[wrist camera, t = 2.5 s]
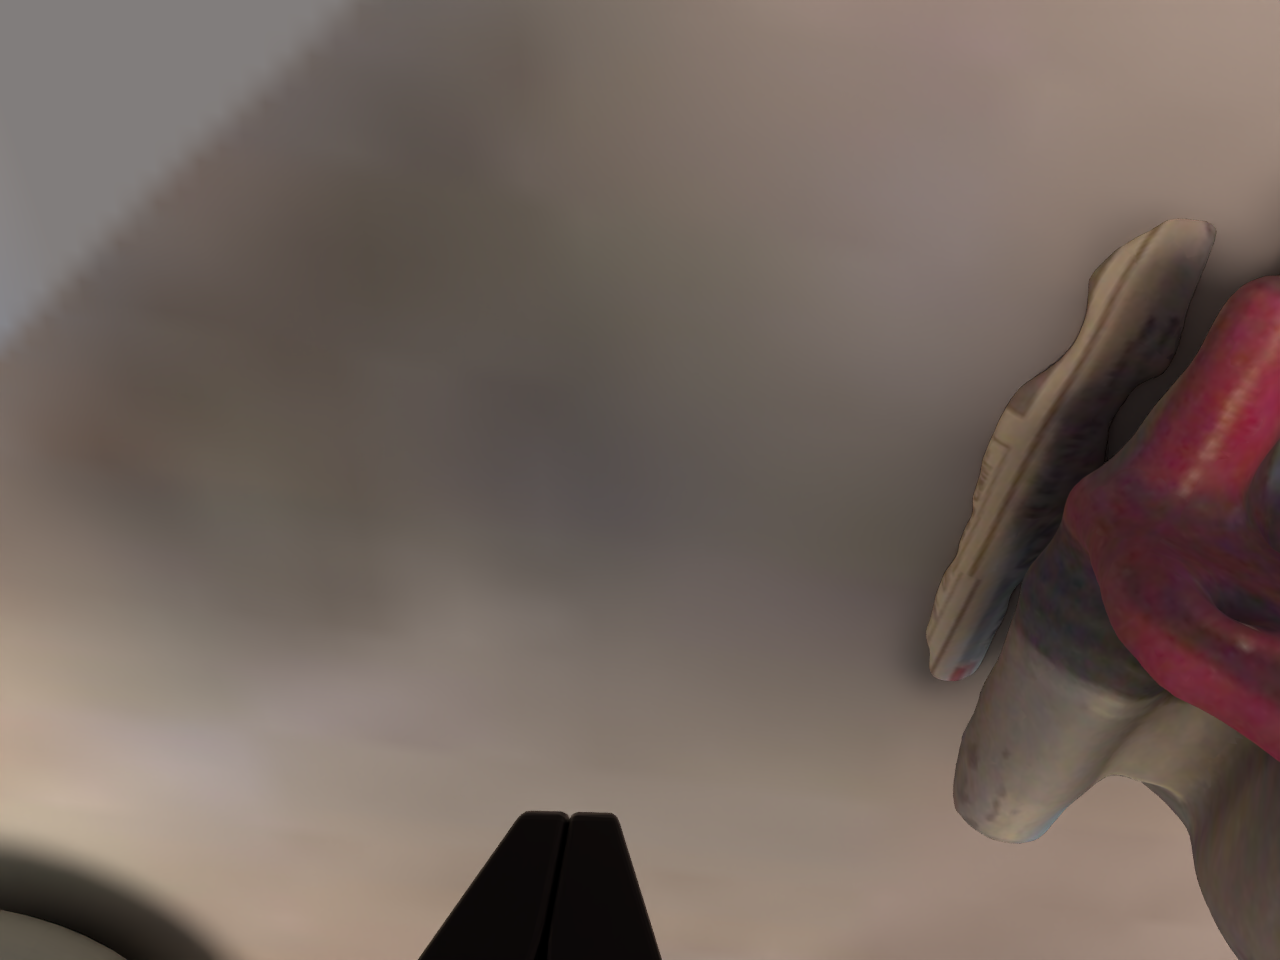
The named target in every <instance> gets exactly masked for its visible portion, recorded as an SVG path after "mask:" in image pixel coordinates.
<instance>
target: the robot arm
mask: <svg viewBox="0 0 1280 960" xmlns="http://www.w3.org/2000/svg"><path fill="white" fill-rule="evenodd" d="M418 960H662V958H661V955H660V952H659V949H658V945H657V942H656V939H655V936H654V932H653V929H652V926H651V923H650V920H649V916H648V913H647V910H646V907H645V903H644V900H643V897H642V894H641V890H640V887H639V884H638V881H637V878H636V874H635V871H634V868H633V865H632V861H631V858H630V855H629V852H628V849H627V845H626V842H625V839H624V836H623V832H622V829H621V826H620V823H619V820H618V818H617V817H616V816H615V815H614V814H612V813H597V812H577V813H574V814H573V815H572V816H571V818H569V816H568V815H567V814H566V813H564V812H559V811H526V812H525V813H523V814H521V815H520V816H519V817H518V819H517V820H516V821H515V823H514V824H513V825H512V827H511V828H510V830H509V831H508V833H507V834H506V835H505V837H504V838H503V840H502V841H501V842H500V844H499V845H498V847H497V848H496V850H495V851H494V852H493V854H492V855H491V857H490V858H489V859H488V861H487V862H486V864H485V865H484V867H483V868H482V869H481V871H480V872H479V874H478V875H477V876H476V878H475V879H474V881H473V882H472V884H471V885H470V886H469V888H468V889H467V891H466V892H465V893H464V895H463V896H462V898H461V899H460V901H459V902H458V903H457V905H456V906H455V908H454V909H453V911H452V912H451V913H450V915H449V916H448V918H447V919H446V920H445V922H444V923H443V925H442V926H441V928H440V929H439V930H438V932H437V933H436V935H435V936H434V937H433V939H432V940H431V942H430V943H429V945H428V946H427V947H426V949H425V950H424V952H423V953H422V954H421V956H420V957H419V959H418Z"/></svg>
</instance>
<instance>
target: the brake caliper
mask: <svg viewBox="0 0 1280 960" xmlns="http://www.w3.org/2000/svg"><path fill="white" fill-rule="evenodd" d="M1215 236H1216V228H1215V226H1214V225H1213V224H1210V223H1208V222H1207V221H1199V220H1189V219H1172V220H1167V221H1165V222H1164V223H1162V224H1160V225H1158V226H1157V227H1155V228H1154V229H1152V230H1151V231H1149V232H1147V233H1144V234H1142V235H1140V236H1138V237H1137V238H1135V239H1133V240H1132V241H1130V242H1128V243H1127V244H1125V245H1123V246H1122V247H1120V248H1118V249H1117V250H1116V251H1114V253H1113V254H1111V255H1110V257H1108V258H1107V259H1106V260H1105V261H1104V262H1103V263H1102V264H1101V265H1100V266H1099V267H1098V268H1097V269H1096V270H1095V272H1094V273H1093V275H1092V276H1091V278H1090V280H1089V290H1088V305H1087V313H1086V317H1085V320H1084V323H1083V326H1082V328H1081V331H1080V333H1079V335H1078V337H1077V339H1076V341H1075V343H1074V344H1073V346H1072V347H1071V348H1070V349H1069V350H1068V351H1067V352H1066V353H1065V355H1064V356H1063V357H1062V358H1061V359H1060V360H1059V361H1058V362H1056V363H1055V364H1053V365H1052V366H1051V367H1050V368H1049V369H1047V370H1046V371H1044V372H1042V373H1040V374H1039V375H1037V376H1036V377H1034V378H1033V379H1032V380H1030V381H1029V382H1027V383H1026V384H1024V385H1023V386H1022V387H1021V388H1019V390H1018V391H1017V392H1016V394H1015V395H1014V396H1013V397H1012V399H1011V400H1010V402H1009V404H1008V405H1007V407H1006V409H1005V411H1004V413H1003V414H1002V416H1001V418H1000V420H999V422H998V424H997V427H996V429H995V431H994V434H993V436H992V438H991V440H990V443H989V445H988V447H987V450H986V452H985V455H984V457H983V460H982V467H981V472H980V476H979V479H978V482H977V486H976V489H975V492H974V494H973V513H972V516H971V518H970V520H969V522H968V523H967V525H966V527H965V530H964V532H963V535H962V538H961V541H960V544H959V549H958V553H957V556H956V557H955V559H954V560H953V562H952V563H951V565H950V566H949V567H948V569H947V570H946V572H945V574H944V576H943V578H942V580H941V583H940V586H939V588H938V591H937V593H936V597H935V601H934V606H933V610H932V614H931V619H930V621H929V624H928V627H927V629H926V638H927V643H928V646H929V649H930V661H929V668H930V671H931V673H932V675H933V676H934V677H935V678H937V679H940V680H945V681H958V680H961V679H963V678H965V677H967V676H970V675H971V674H973V673H974V672H975V671H976V670H977V669H978V667H979V666H980V664H981V662H982V660H983V658H984V656H985V654H986V652H987V650H988V648H989V646H990V643H991V641H992V639H993V637H994V634H995V632H996V630H997V629H998V627H999V626H1000V624H1001V622H1002V619H1003V617H1004V615H1005V613H1006V611H1007V606H1008V603H1009V598H1010V595H1011V593H1012V591H1013V590H1014V588H1015V587H1016V586H1017V585H1018V584H1019V583H1021V582H1022V583H1021V592H1020V595H1019V600H1018V604H1017V607H1016V610H1015V613H1014V616H1013V619H1012V622H1011V625H1010V628H1009V631H1008V634H1007V637H1006V639H1005V642H1004V645H1003V648H1002V651H1001V654H1000V656H999V658H998V660H997V662H996V664H995V666H994V667H993V669H992V671H991V672H990V674H989V676H988V678H987V679H986V681H985V683H984V685H983V688H982V690H981V692H980V696H979V700H978V703H977V706H976V709H975V711H974V714H973V716H972V717H971V719H970V721H969V723H968V725H967V726H966V729H965V731H964V733H963V736H962V741H961V745H960V749H959V754H958V759H957V763H956V770H955V777H954V785H953V798H954V804H955V808H956V811H957V812H958V813H959V814H960V815H961V816H962V818H963V819H964V820H965V821H966V822H967V823H968V824H969V825H970V826H971V827H973V828H974V829H975V830H977V831H978V832H980V833H981V834H983V835H985V836H987V837H989V838H991V839H993V840H998V841H1002V842H1008V843H1024V842H1029V841H1034V840H1036V839H1038V838H1039V837H1040V836H1042V835H1043V834H1044V833H1045V832H1046V831H1047V830H1048V829H1049V828H1050V826H1051V825H1052V824H1053V823H1054V822H1055V820H1056V819H1057V818H1058V817H1059V816H1060V815H1061V813H1062V812H1063V811H1064V810H1065V809H1066V808H1067V807H1068V806H1069V805H1070V804H1071V803H1073V802H1074V801H1075V800H1076V799H1077V798H1079V797H1080V796H1081V795H1082V794H1084V793H1085V792H1086V791H1087V790H1088V789H1090V788H1091V787H1092V786H1093V785H1094V784H1096V783H1097V782H1098V781H1100V780H1102V779H1103V778H1105V777H1107V776H1110V775H1120V776H1125V777H1128V778H1131V779H1134V780H1137V781H1141V782H1142V783H1143V784H1144V785H1146V786H1147V787H1148V788H1149V789H1151V790H1152V791H1153V792H1154V793H1155V794H1156V795H1158V796H1159V797H1160V798H1161V799H1162V800H1163V801H1164V802H1165V803H1166V804H1167V805H1168V806H1169V807H1170V808H1171V809H1172V810H1173V812H1174V813H1175V814H1176V815H1177V816H1178V817H1179V818H1180V820H1181V821H1182V822H1183V824H1184V825H1185V827H1186V828H1187V830H1188V833H1189V835H1190V840H1191V845H1192V852H1193V859H1194V865H1195V871H1196V875H1197V879H1198V882H1199V886H1200V888H1201V891H1202V894H1203V897H1204V899H1205V901H1206V904H1207V906H1208V908H1209V910H1210V912H1211V915H1212V917H1213V919H1214V921H1215V923H1216V925H1217V927H1218V929H1219V930H1220V932H1221V934H1222V935H1223V937H1224V939H1225V940H1226V942H1227V943H1228V945H1229V946H1230V948H1231V949H1232V951H1233V952H1234V954H1235V955H1236V956H1237V958H1238V959H1239V960H1280V274H1279V276H1275V275H1274V276H1264V277H1261V278H1258V279H1255V280H1253V281H1250V282H1248V283H1246V284H1245V285H1243V286H1242V287H1241V288H1240V289H1239V290H1237V291H1236V292H1235V293H1234V294H1233V295H1232V296H1231V297H1230V298H1229V299H1228V301H1227V302H1226V303H1225V304H1224V306H1223V307H1222V309H1221V311H1220V312H1219V314H1218V316H1217V317H1216V319H1215V321H1214V323H1213V324H1212V326H1211V328H1210V330H1209V332H1208V334H1207V336H1206V338H1205V340H1204V342H1203V344H1202V346H1201V348H1200V350H1199V351H1198V353H1197V355H1196V356H1195V358H1194V359H1193V361H1192V362H1191V364H1190V365H1189V366H1188V367H1187V369H1186V370H1185V371H1184V372H1183V374H1182V375H1181V376H1180V377H1179V378H1178V379H1177V380H1176V382H1175V383H1174V384H1173V385H1172V386H1171V387H1170V389H1169V390H1168V391H1167V392H1166V393H1165V394H1164V396H1163V397H1162V398H1161V399H1160V400H1159V401H1158V403H1157V404H1156V405H1155V406H1154V407H1153V409H1152V410H1151V412H1150V413H1149V414H1148V416H1147V417H1146V419H1145V420H1144V421H1143V423H1142V424H1141V426H1140V427H1139V429H1138V430H1137V431H1136V433H1135V434H1134V436H1133V437H1132V438H1131V439H1130V440H1129V441H1128V442H1127V443H1126V444H1125V446H1124V447H1123V448H1122V449H1121V450H1120V451H1119V452H1118V453H1117V454H1116V455H1115V456H1113V457H1112V458H1111V459H1110V460H1109V461H1108V462H1106V463H1105V464H1104V460H1105V448H1106V443H1107V439H1108V429H1109V425H1110V422H1111V420H1112V419H1113V418H1114V416H1115V414H1116V413H1117V411H1118V410H1119V408H1120V407H1121V405H1122V404H1123V403H1124V402H1125V400H1126V399H1127V397H1128V395H1129V393H1130V392H1131V391H1132V390H1133V389H1134V388H1135V387H1136V386H1138V385H1139V384H1140V383H1142V382H1144V381H1146V380H1148V379H1151V378H1153V377H1157V376H1159V375H1161V374H1162V373H1163V372H1164V371H1165V370H1166V369H1167V367H1168V366H1169V364H1170V362H1171V360H1172V358H1173V356H1174V355H1175V353H1176V350H1177V346H1178V342H1179V339H1180V336H1181V333H1182V330H1183V326H1184V321H1185V316H1186V312H1187V309H1188V306H1189V304H1190V301H1191V298H1192V296H1193V293H1194V291H1195V288H1196V286H1197V284H1198V281H1199V279H1200V277H1201V273H1202V271H1203V269H1204V267H1205V265H1206V262H1207V260H1208V257H1209V254H1210V252H1211V249H1212V246H1213V244H1214V241H1215ZM1103 464H1104V465H1103Z"/></svg>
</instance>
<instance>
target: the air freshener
mask: <svg viewBox="0 0 1280 960" xmlns="http://www.w3.org/2000/svg"><path fill="white" fill-rule="evenodd" d="M0 960H128V959H126V958H125V957H123V956H121V955H120V954H118V953H117V952H115V951H114V950H112V949H111V948H109V947H108V946H106V945H104V944H102V943H100V942H98V941H96V940H94V939H92V938H90V937H88V936H86V935H84V934H82V933H79V932H77V931H74V930H72V929H69V928H67V927H64V926H62V925H60V924H57V923H53V922H50V921H47V920H43V919H40V918H37V917H34V916H30V915H25V914H20V913H15V912H11V911H6V910H0Z"/></svg>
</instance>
